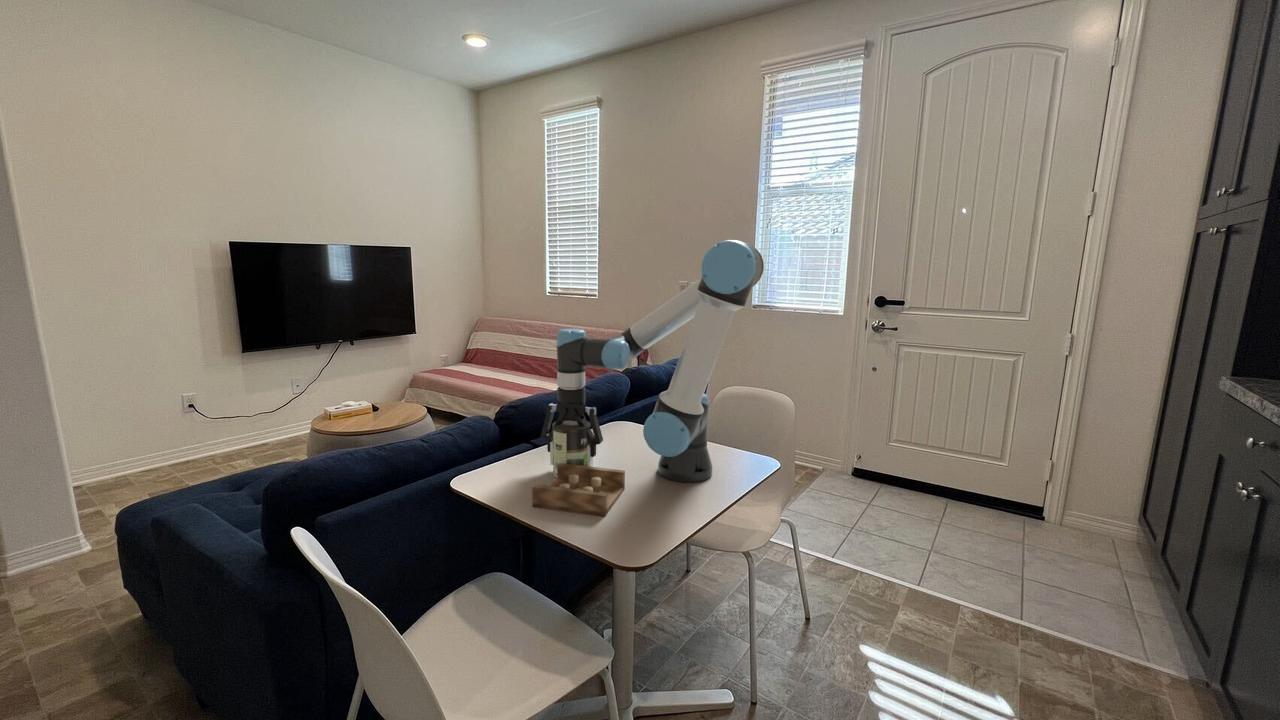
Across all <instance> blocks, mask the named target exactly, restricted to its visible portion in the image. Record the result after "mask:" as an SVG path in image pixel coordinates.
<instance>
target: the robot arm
mask: <svg viewBox="0 0 1280 720" xmlns="http://www.w3.org/2000/svg"><path fill="white" fill-rule="evenodd" d="M702 258H703V259H702V262H701V266H700V270H701V278H699V279H697V280H696V281H694V283H692V284H690V285H689V286H687V287H686V288H684V289H682V290H681V291H680V292H679V293H678V294H676V295H675V296H673V297H671V298H670V299H669V300H667V301H666V302H664V303H663V304H661V305H660V306H659V307H657V308H656V309H654V310H652V311H651V312H650V313H649V314H647V315H646V316H644V317H643V318H642V319H639V320H638V321H637V322H635V323H634V324H633V325H631V326H630V327H628V328H626V329H625V330H624V331H623V332H621V333H619V334H618V335H614V336H611V337H607V338H591V337H587V333H586V331H585V330H584V329H581V328H564V329H560V330H558V332H557V335H556V359H557V361H556V363H557V364H556V365H557V369H556V370H557V372H556V373H557V375H556V376H557V378H556V384H557V385H556V386H558V387H557V389H556V390H557V391H556V393H557V399H556V400H557V403H556V404H554V403H553V402H551V403H549V404H548V405H546V409H545V410H546V413H545V419H544V423H543V426H542V429H541V433H540V438H541V439H544V440H546V442H547V444H546V445H547V448H546V449H547V452H548V453H550V454H549V455H550V464H549V465H550V466H551V465H552V466H553V428H552V427H551V425H552V424H553V423H552V422H553V418H554V415H555V412H556V411H557V412H558V414H559V416H558V417H557V418H556V419H557V420H556V421H555V422H556V423H555V424H556V425H560V424H562V423H563V422H564V420H566V421H568V420H571V421H577V423H578V424H579V425H580V427H585V426H587V425H588V423H587V421H588V420H587V419H586V416H585V413H587V415H588V416H589V418H588V419H589V423H590V427H591V428H590V429H589V430H587V440H588V442H589V445H588V446H587V466H590V467H594V457H596V455H597V445H601V443H603V441H604V439H603V438H604V437H603V435H602V430H601V427H600V423H599V418H598V417H597V416H598V412H597V411H598V408H597V406H593V407H589V406H587V404H586V387H585V386H586V367H592V368H599V369H607V370H608V369H609V370H623V369H625V368H627V365H628V364H629V362H630V361H631V360H634V359H635V358H637V357H638V356H639V355H640V354H641V353H643V352H644V351H645V350H646V349H648V348H650V347H651V346H652V345H654V344H656V343H657V342H658V341H661V339H663V338H665V337H666V336H667V335H670V334H671V333H672V332H674V331H676V330H677V329H678V328H680V327H682V326H683V325H685V324H686V323H688V322H689V321H691V320H692V319H693V320H692V322H691V326H690V328H689V330H688V332H687V333H688V334H687V336H686V339H685V341H684V345H683V348H682V350H681V352H680V355H679V358H678V360H677V364H676V367H675V369H674V373H673V375H672V377H671V380H670V383H669V386H668V389H666V390H665V391H662V392H660V393H659V395H658V398H657V400H656V403H655V405H654V406H655V407H654V409H653V412H652V413H651V414H650V415H649V416H648V417H647V419H646V420H645V422H644V425H643V429H642V433H643V438H644V440H645V442H646V445H647V447H648V448H650V450H651V451H653V452H654V453H655V454H657V455H659V456H660V457H659V460H658V463H657V464H658V465H657V471H658V474H659V475H660V476H661V477H663V478H664V479H667V480H670V481H674V482H678V483H679V482H680V483H697V482H703V481H706V480H708V479H710V478H711V477H712V475H713V463H712V460H711V459H712V458H711V456H710V453H709V448H708V434H709V433H708V431H709V430H708V429H709V411H710V410H709V408H710V404H709V403H710V402H709V400H710V399H709V396H708V394H706V393H705V391H706V389H707V386H708V384H709V381H710V379H711V376H712V373H713V370H714V368H715V365H716V363H717V360H718V359H719V358H718V357H719V355H720V353H721V349H722V347H723V345H724V342H725V339H726V337H727V335H728V332H729V329H730V326H731V324H732V321H733V318H734V316H735V314H736V312H737V311H738V310H741V309H743V308H745V305H746V304H747V300H748V298H749V295H750V293H751V290H752V288H753V287H755V285H757V284H758V283H759V281H760V280H761V278H762V276H763V274H764V269H765V267H764V266H765V265H764V259H763V256H762V255H761V253H760V251H759V250H758V249H757V248H756V247H754V246H753V245H751V244H749V243H746V242H743V241H741V240H736V239H725V240H722V241H720V242H717V243H715V244H714V245H712V246H711V247H710V248H709V249H708V250H707V251H706V252H705V255H704V256H703V257H702Z"/></svg>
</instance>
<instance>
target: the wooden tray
mask: <svg viewBox="0 0 1280 720" xmlns="http://www.w3.org/2000/svg"><path fill="white" fill-rule="evenodd" d="M625 472H626V470H622V469H613V468H607V467H605V468H604V467H597V466H592V467H590V466H581V465H573V464H564V463H559V464H558V465H557V477H556V480H555V481H554V482H553V483H552V484H551V485H544V484H536V483H535V484H533V486H532V488H531V489H532V490H531V492H532V496H531V497H532V507H533V508H541V509H546V510H547V509H548V510H555V511H562V512H568V513H569V512H570V513H576V514H583V515H591V516H598V517H603V518H605V517H606V516H607V515H608V513H609V511H610V510H611V509H612V507H613V506H614V505H615V504H616V502H617V500H619V498H620V497H621V495H622V494H623V492H624V491H625V489H626V487H625V485H626V484H625V482H626V473H625Z"/></svg>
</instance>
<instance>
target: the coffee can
mask: <svg viewBox="0 0 1280 720" xmlns="http://www.w3.org/2000/svg"><path fill="white" fill-rule="evenodd" d="M586 421H587V423H588V425H587V426H585V427H580V425H579V424H578V423H577V421H571V420H568V421H566V420H564V422H563V423H562V424H560V425H556V424H555V423H556V421H554V422H553V423H551V425H552V427H551V429H552V428H553V465H552V466H553V467H552V469H553V471H552V472H553V473H552V474H553V476H554V477H555V478H557V465H558V464H559V463H564V464H573V465H581V466H587V446H588V445H589V442H588V440H587V430H589V429H591V422H590V421H588V420H586Z"/></svg>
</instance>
